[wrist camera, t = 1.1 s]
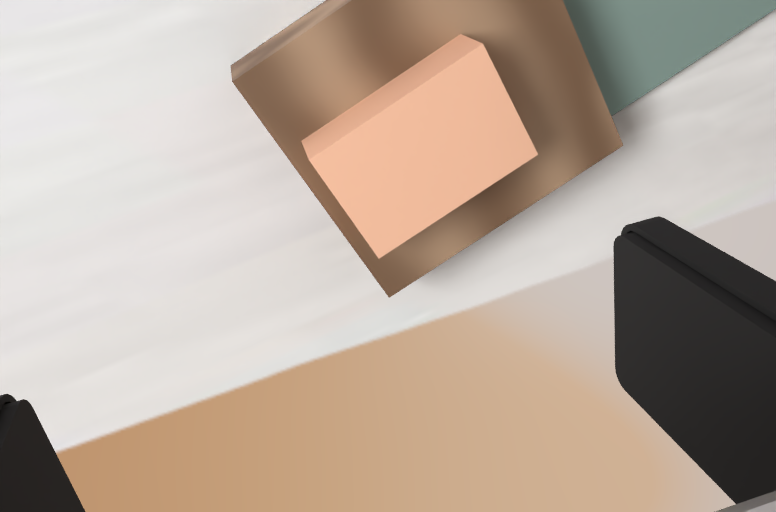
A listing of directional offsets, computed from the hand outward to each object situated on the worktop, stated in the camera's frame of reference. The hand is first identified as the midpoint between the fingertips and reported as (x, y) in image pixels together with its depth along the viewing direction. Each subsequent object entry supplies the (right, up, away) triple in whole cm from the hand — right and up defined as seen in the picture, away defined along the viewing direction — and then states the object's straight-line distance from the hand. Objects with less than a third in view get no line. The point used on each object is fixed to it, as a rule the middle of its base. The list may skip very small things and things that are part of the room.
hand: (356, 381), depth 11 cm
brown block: (+2, +11, +26) cm, 28 cm away
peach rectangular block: (+2, +8, +22) cm, 24 cm away
